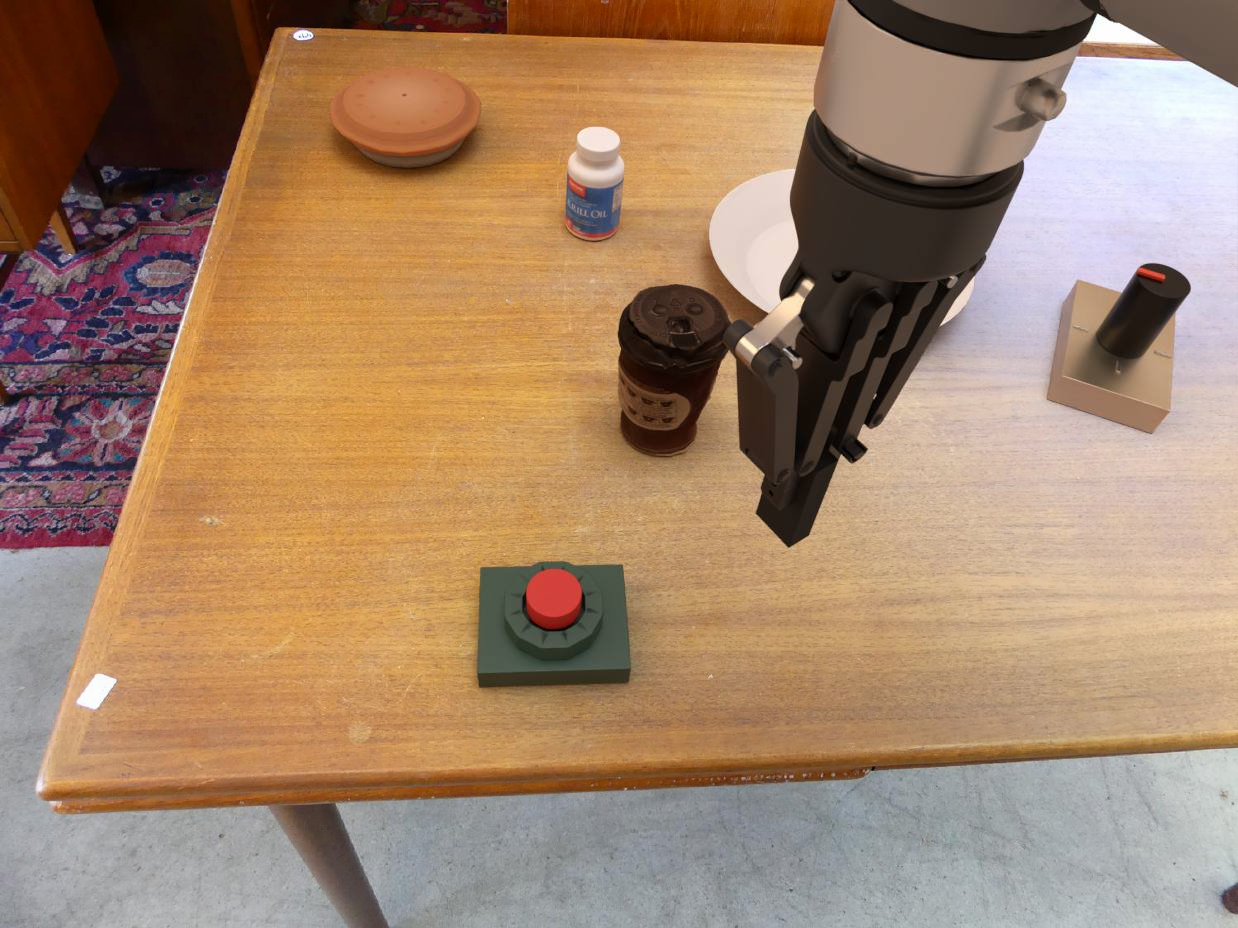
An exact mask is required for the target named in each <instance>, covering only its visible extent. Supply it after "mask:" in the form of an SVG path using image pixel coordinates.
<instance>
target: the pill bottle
mask: <svg viewBox="0 0 1238 928" xmlns="http://www.w3.org/2000/svg"><path fill="white" fill-rule="evenodd" d="M620 150H621V138H620V136H619V134H618V133H617V132H616V131H614V130H613V129H610V128H607V127H604V126H589V127H585V128H583V129H582V130H580V131H579V132H578V133H577V135H576V144H575V151H573V152H572V154H571V155H569V158H568V161H567V169H566V170H567V171H566V188H565V189H566V190H565V213H564V223H565V226H566V228H567V230H568V231H569V233H571V234H572V235H574V236H575V237H577V238H579V239H582V240H586V241H594V242H595V241H603V240H605V239H608V238H610V237H612V236H613V235H614V234H615V233H616V232H617V230H618V228H619V225H620V219H621V210H622V209H621V208H622V200H623V190H624V181H625V170H626V167H625V166H626V165H625V161H624V159H623V158H622V156H621V155H620V152H621V151H620Z"/></svg>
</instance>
